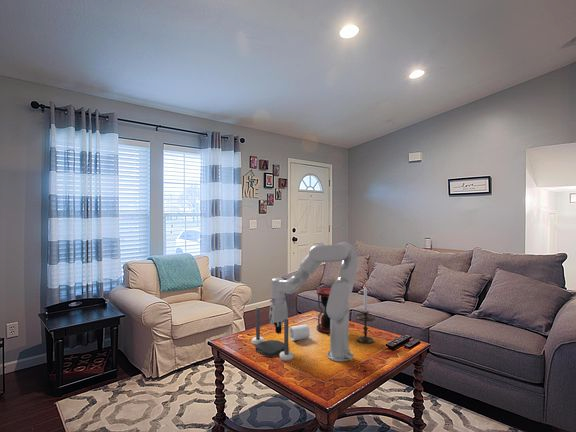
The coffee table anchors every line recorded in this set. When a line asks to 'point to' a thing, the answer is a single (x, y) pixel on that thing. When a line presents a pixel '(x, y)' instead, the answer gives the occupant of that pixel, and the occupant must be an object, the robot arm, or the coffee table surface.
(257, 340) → the far cord post
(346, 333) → the robot arm
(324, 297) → the hourglass
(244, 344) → the coffee table surface
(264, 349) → the media streaming box
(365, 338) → the candlestick
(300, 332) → the mug
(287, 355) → the post
